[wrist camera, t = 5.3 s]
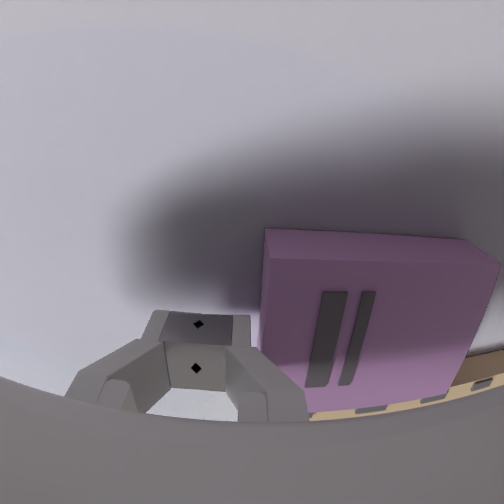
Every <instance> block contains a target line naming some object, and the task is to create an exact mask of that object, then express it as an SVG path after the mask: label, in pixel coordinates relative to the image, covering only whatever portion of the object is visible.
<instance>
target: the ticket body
mask: <svg viewBox="0 0 504 504" xmlns="http://www.w3.org/2000/svg"><path fill="white" fill-rule="evenodd" d="M501 385H504V349H503V350H499V351H495V352H490V353H486V354H481V355H477V356H472V357H467V358H465V359H464V361H463V363H462V365H461V367H460V369H459V371H458V373H457V374H456V376H455V378H454V380H453V382H452V384H451V386H450V387H449V389H448V391H447V393H446V394H442V395H437V396H433V397H428V398H423V399H418V400H413V401H407V402H401V403H395V404H389V405H382V406H375V407H367V408H359V409H349V410H339V411H327V412H311V413H308V415H309V420H310V421H320V420H333V419H344V418H353V417H361V416H369V415H376V414H383V413H390V412H396V411H402V410H407V409H413V408H418V407H423V406H428V405H432V404H437V403H441V402H445V401H449V400H453V399H457V398H461V397H465V396H469V395H472V394H476V393H479V392H482V391H486V390H489V389H492V388H495V387H498V386H501Z"/></svg>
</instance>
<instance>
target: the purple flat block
mask: <svg viewBox="0 0 504 504" xmlns="http://www.w3.org/2000/svg"><path fill="white" fill-rule="evenodd" d="M500 267H501V264H500V263H499V262H497V261H496V260H494V259H493V258H492V257H490V256H489V255H487V254H486V253H484V252H483V251H481V250H480V249H478V248H477V247H475V246H474V245H472V244H471V243H469V242H468V241H466V240H461V239H448V238H434V237H420V236H405V235H389V234H372V233H355V232H336V231H315V230H293V229H269V228H265V239H264V255H263V272H262V288H261V303H260V319H259V333H258V348H257V349H258V350H259V351H261V352H262V353H263V354H264V355H265V356H266V357H267V358H268V359H269V360H270V361H271V362H272V363H273V364H275V365H276V366H277V367H278V368H279V369H280V370H281V371H282V372H283V373H284V374H285V375H287V376H288V377H289V378H290V379H291V380H292V381H293V382H294V383H295V384H297V385H298V386H299V387H300V388H301V389H302V390H303V391H304V394H305V399H306V405H307V410H308V413H311V412H327V411H339V410H349V409H359V408H367V407H375V406H382V405H389V404H395V403H401V402H407V401H413V400H418V399H423V398H428V397H433V396H437V395H442V394H446V393H447V391H448V389H449V387H450V386H451V384H452V382H453V380H454V378H455V376H456V374H457V373H458V371H459V369H460V367H461V365H462V363H463V361H464V359H465V357H466V355H467V352H468V350H469V348H470V346H471V344H472V342H473V339H474V337H475V335H476V333H477V330H478V328H479V326H480V323H481V321H482V318H483V316H484V313H485V311H486V308H487V305H488V303H489V300H490V297H491V295H492V292H493V289H494V286H495V283H496V280H497V277H498V274H499V270H500Z"/></svg>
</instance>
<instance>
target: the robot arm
mask: <svg viewBox="0 0 504 504" xmlns="http://www.w3.org/2000/svg"><path fill="white" fill-rule="evenodd" d="M171 388H182V389H199V390H209V391H221V392H226V394H227V395H228V397H229V398H230V400H231V401H232V403H233V404H234V406H235V407H236V409H237V410H238V422H232V421H213V420H199V419H188V418H178V417H169V416H161V415H153V414H146V412H147V411H148V410H149V409H150V408H151V407H152V406H153V405H154V404H155V403H156V402H157V401H159V400H160V399H161V398H162V397H163V396H164V395H165V394H166V393H167V392H168V391H169V390H170V389H171ZM0 504H504V385H501V386H498V387H495V388H492V389H489V390H486V391H482V392H479V393H476V394H472V395H469V396H465V397H461V398H457V399H453V400H449V401H445V402H441V403H437V404H432V405H428V406H423V407H418V408H413V409H407V410H402V411H396V412H390V413H383V414H376V415H369V416H361V417H353V418H344V419H333V420H320V421H310V420H309V415H308V410H307V405H306V399H305V394H304V391H303V390H302V389H301V388H300V387H299V386H298V385H297V384H295V383H294V382H293V381H292V380H291V379H290V378H289V377H288V376H287V375H285V374H284V373H283V372H282V371H281V370H280V369H279V368H278V367H277V366H276V365H275V364H273V363H272V362H271V361H270V360H269V359H268V358H267V357H266V356H265V355H264V354H263V353H262V352H261V351H259V350H258V349H257V348H256V347H251V320H250V315H234V316H233V315H219V314H202V313H189V312H177V311H167V310H155V311H153V313H152V315H151V317H150V320H149V322H148V324H147V326H146V328H145V331H144V333H143V335H142V337H141V339H135V340H133V341H132V342H130V343H128V344H126V345H125V346H123V347H121V348H119V349H118V350H116V351H114V352H112V353H110V354H109V355H107V356H105V357H103V358H102V359H100V360H98V361H96V362H94V363H93V364H91V365H89V366H87V367H85V368H84V369H82V370H80V371H78V373H77V375H76V376H75V378H74V380H73V382H72V384H71V385H70V387H69V389H68V391H67V393H66V394H65V396H64V397H63V396H60V395H56V394H52V393H49V392H45V391H42V390H39V389H36V388H32V387H29V386H26V385H23V384H20V383H17V382H14V381H12V380H9V379H6V378H3V377H1V376H0Z"/></svg>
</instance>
